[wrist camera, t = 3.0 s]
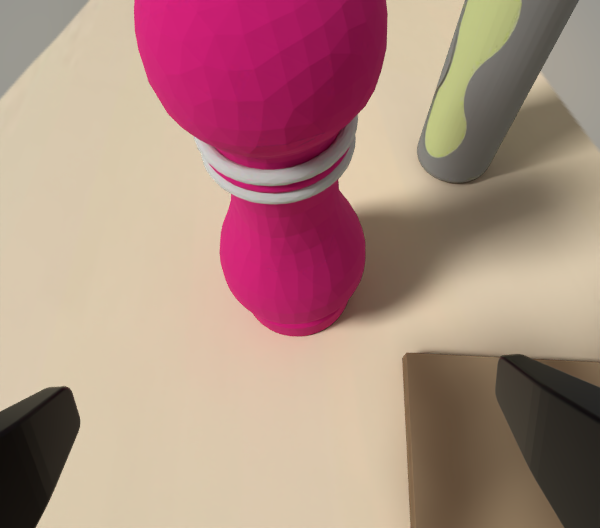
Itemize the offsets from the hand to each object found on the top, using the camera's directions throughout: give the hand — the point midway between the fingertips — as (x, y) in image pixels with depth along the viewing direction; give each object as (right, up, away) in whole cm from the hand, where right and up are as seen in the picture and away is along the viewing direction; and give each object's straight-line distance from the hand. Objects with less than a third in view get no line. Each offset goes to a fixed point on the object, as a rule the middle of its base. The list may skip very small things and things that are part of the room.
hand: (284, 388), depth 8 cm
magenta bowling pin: (0, +1, +16) cm, 16 cm away
